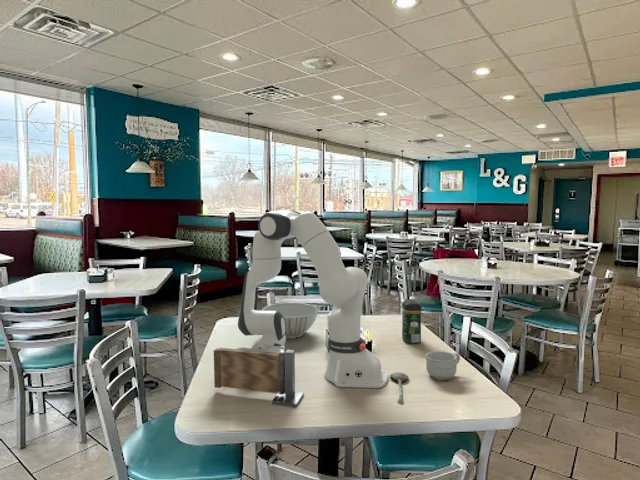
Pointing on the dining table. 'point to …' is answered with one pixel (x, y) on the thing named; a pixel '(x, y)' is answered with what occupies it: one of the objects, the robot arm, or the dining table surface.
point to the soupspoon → (399, 378)
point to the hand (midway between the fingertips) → (247, 365)
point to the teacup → (442, 364)
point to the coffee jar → (411, 321)
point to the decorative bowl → (295, 317)
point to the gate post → (289, 384)
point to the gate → (249, 370)
